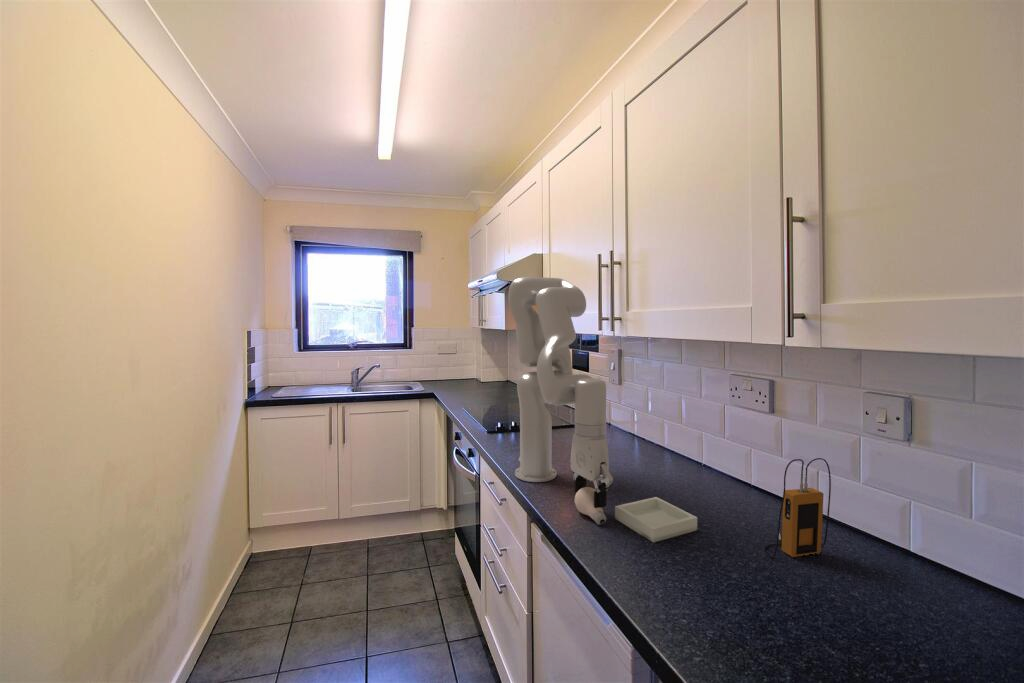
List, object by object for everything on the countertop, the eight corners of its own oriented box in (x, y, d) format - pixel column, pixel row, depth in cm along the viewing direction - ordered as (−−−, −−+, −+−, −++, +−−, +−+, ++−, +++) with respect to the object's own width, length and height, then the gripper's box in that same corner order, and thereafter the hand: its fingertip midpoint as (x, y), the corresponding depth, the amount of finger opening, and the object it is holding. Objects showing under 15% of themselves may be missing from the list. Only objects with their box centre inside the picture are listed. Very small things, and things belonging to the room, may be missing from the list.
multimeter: (796, 530, 104) (800, 443, 103) (836, 553, 94) (840, 457, 93) (740, 537, 101) (743, 447, 100) (775, 561, 91) (779, 462, 90)
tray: (614, 518, 110) (614, 506, 110) (656, 508, 116) (656, 496, 116) (653, 542, 99) (653, 529, 98) (697, 530, 104) (697, 517, 104)
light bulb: (615, 506, 106) (593, 478, 115) (589, 515, 104) (569, 485, 114) (615, 528, 108) (594, 499, 118) (590, 537, 106) (570, 506, 116)
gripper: (558, 423, 118) (558, 491, 119) (599, 439, 102) (598, 517, 103) (582, 420, 121) (582, 486, 122) (626, 436, 105) (625, 511, 106)
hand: (589, 500), depth 112 cm, fingers closed on light bulb, 7 cm apart
